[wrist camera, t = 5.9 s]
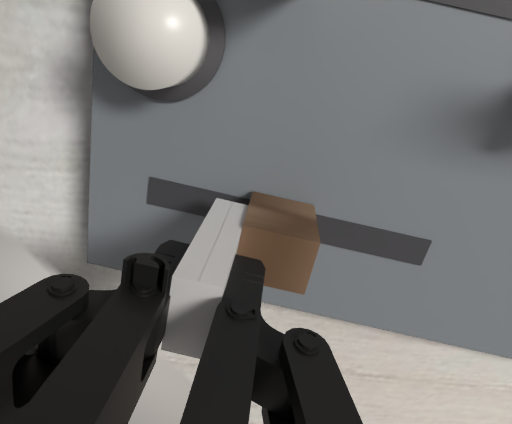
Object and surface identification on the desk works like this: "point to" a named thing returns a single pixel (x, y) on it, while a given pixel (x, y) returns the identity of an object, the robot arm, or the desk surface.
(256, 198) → the slider
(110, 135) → the panel
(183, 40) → the button
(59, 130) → the desk surface
